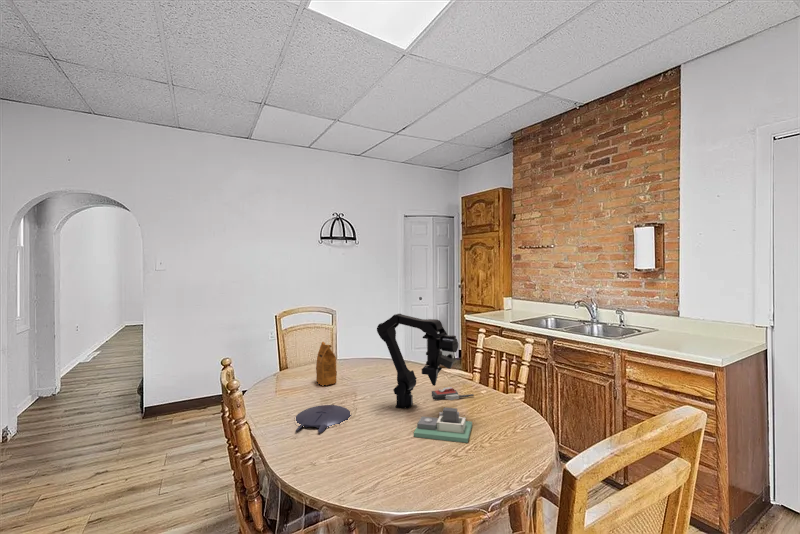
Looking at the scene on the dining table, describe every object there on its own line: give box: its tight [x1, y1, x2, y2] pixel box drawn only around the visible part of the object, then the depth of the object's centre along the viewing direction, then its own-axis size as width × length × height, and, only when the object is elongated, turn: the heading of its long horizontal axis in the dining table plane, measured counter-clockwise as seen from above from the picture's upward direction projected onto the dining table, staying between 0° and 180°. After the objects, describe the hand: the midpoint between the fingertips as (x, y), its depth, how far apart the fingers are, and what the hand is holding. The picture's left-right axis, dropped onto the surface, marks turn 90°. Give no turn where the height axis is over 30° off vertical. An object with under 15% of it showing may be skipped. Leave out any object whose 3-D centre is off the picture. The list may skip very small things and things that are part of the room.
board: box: [413, 415, 473, 444], centre depth 146 cm, size 20×15×4 cm
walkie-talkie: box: [431, 386, 475, 401], centre depth 183 cm, size 9×4×20 cm
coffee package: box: [315, 341, 337, 387], centre depth 208 cm, size 10×12×22 cm
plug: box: [438, 407, 460, 423], centre depth 145 cm, size 7×3×7 cm, turn 73°
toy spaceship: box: [295, 404, 352, 434], centre depth 160 cm, size 28×24×3 cm
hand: (434, 385), depth 164 cm, fingers closed
